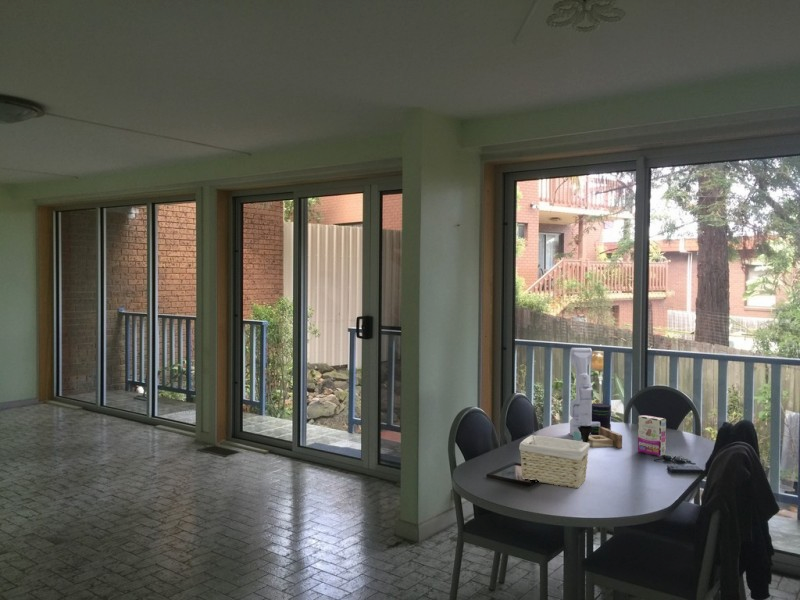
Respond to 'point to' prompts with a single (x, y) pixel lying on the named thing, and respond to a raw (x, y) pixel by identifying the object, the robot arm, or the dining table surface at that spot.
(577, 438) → the dowel
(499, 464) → the dining table surface
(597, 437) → the light wooden square frame
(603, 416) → the storage jar
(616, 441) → the backstop wall
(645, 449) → the candy bar box
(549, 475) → the storage basket
